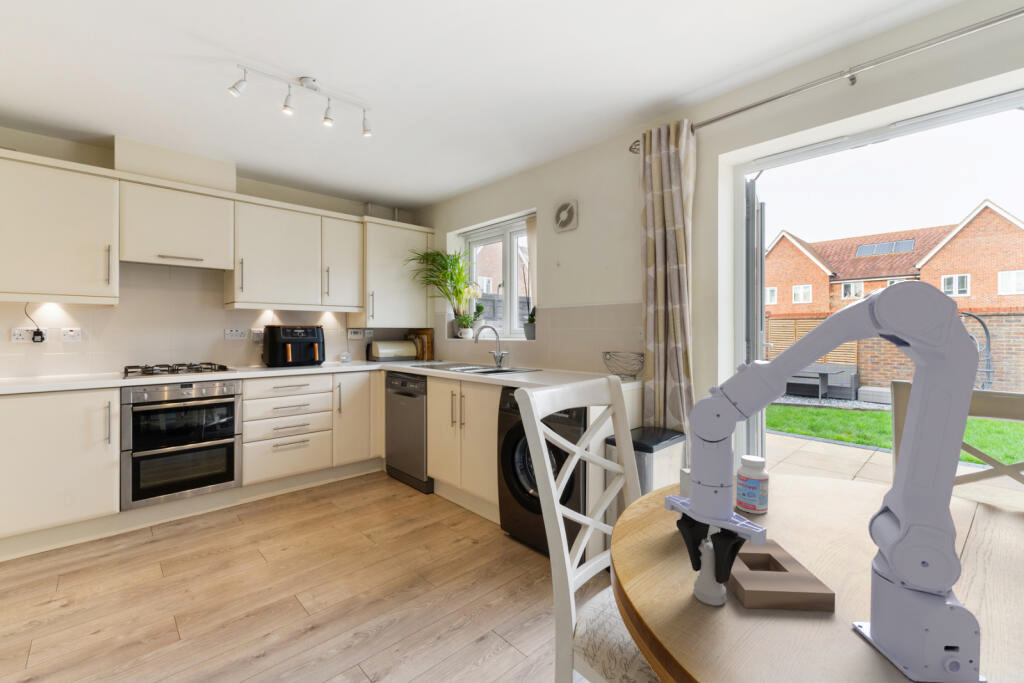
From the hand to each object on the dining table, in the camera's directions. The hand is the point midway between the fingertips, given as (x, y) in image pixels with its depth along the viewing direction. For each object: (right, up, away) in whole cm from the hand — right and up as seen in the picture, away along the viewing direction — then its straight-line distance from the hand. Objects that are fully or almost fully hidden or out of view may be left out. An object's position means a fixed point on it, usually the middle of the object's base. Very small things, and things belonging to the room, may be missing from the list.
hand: (710, 574), depth 63 cm
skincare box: (+7, -3, +21) cm, 22 cm away
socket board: (+10, -3, +5) cm, 12 cm away
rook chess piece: (0, -4, 0) cm, 4 cm away
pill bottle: (+24, -3, +33) cm, 41 cm away
